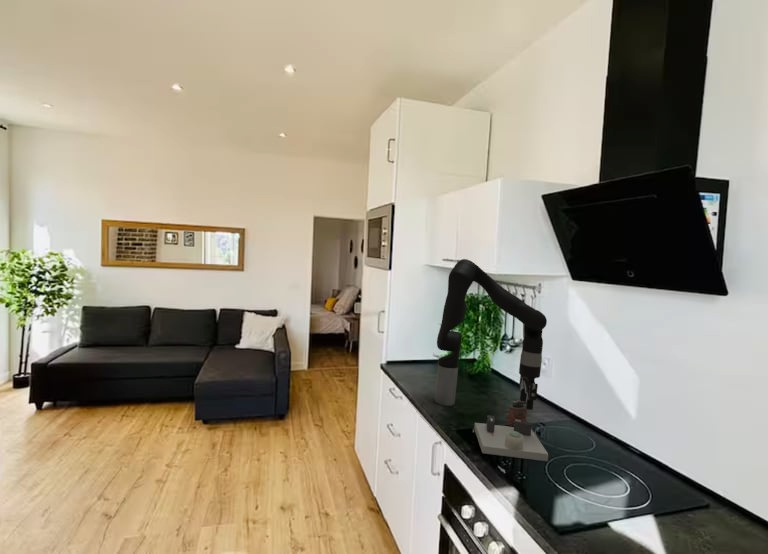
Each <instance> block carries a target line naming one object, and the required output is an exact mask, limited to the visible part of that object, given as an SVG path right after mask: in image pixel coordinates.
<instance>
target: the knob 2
mask: <svg viewBox="0 0 768 554" xmlns="http://www.w3.org/2000/svg"><path fill="white" fill-rule="evenodd" d="M532 425H533V424H532V422H530V421H529V422H528V421H526V422H525V421H521V420H516V419H515V424H514V426H513V427H514V431H516V432H519V433H520V434H525V435H530V436H531V429H532V427H533V426H532Z"/></svg>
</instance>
